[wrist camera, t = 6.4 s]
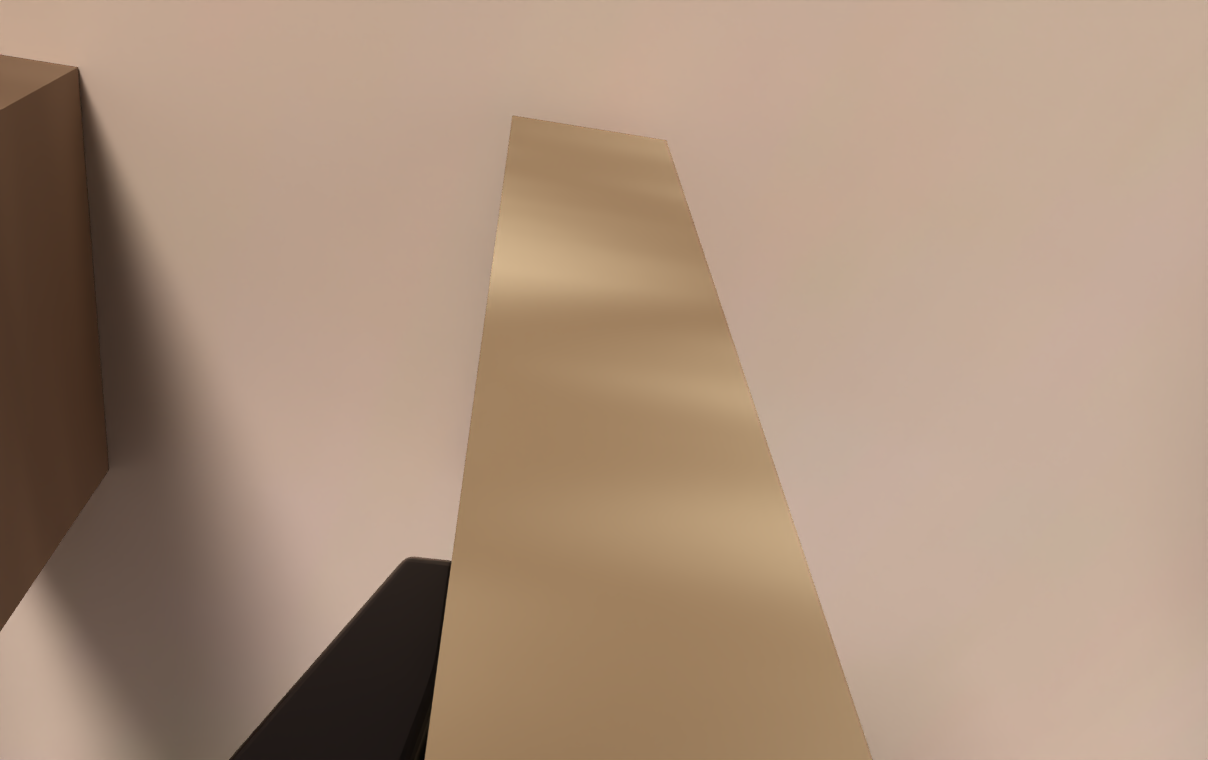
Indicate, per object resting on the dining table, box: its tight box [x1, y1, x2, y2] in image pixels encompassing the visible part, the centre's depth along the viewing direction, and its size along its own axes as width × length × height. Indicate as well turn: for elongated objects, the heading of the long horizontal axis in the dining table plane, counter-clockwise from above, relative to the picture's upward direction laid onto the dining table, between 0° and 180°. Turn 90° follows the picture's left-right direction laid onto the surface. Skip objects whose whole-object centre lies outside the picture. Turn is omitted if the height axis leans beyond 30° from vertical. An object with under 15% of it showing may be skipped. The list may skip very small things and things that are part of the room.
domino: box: [425, 116, 872, 760], centre depth 8 cm, size 2×5×8 cm, turn 170°
